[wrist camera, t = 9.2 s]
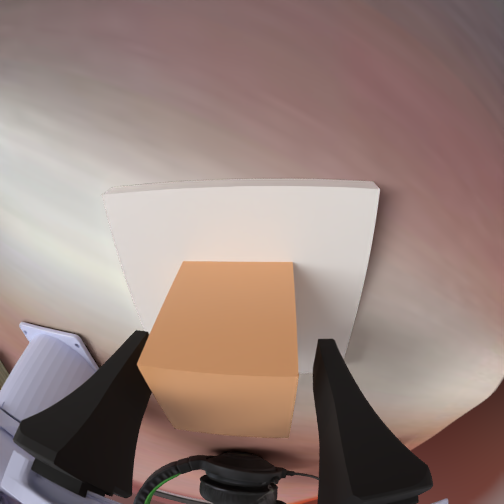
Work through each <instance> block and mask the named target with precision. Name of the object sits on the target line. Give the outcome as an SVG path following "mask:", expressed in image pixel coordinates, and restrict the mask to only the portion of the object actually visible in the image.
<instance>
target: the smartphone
mask: <svg viewBox="0 0 504 504" xmlns="http://www.w3.org/2000/svg"><path fill="white" fill-rule="evenodd" d="M153 495H156V496H159V497H163V498H166V499H170V500H174V501H178V502H182V503H186V504H213V503H211V502H209V501H206V500H200V499H195V498H191V497H186V496H182V495H177V494H173V493H169V492H166V491H162V490H158V489H157V490H156V491H155V493H154V494H153Z"/></svg>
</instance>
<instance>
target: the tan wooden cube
mask: <svg viewBox="0 0 504 504" xmlns="http://www.w3.org/2000/svg"><path fill="white" fill-rule="evenodd" d="M137 366H138V368H139V370H140V372H141V373H142V375H143V377H144V379H145V381H146V383H147V384H148V386H149V388H150V390H151V391H152V393H153V395H154V396H155V398H156V400H157V402H158V403H159V405H160V407H161V408H162V410H163V411H164V413H165V415H166V416H167V418H168V419H169V421H170V422H171V424H172V426H173V427H174V429H180V430H186V431H193V432H201V433H209V434H218V435H229V436H242V437H262V438H289V434H290V428H291V423H292V417H293V411H294V404H295V398H296V391H297V385H298V378H299V371H298V344H297V323H296V304H295V288H294V273H293V262H217V261H183V262H182V265H181V267H180V269H179V271H178V273H177V275H176V277H175V279H174V281H173V283H172V286H171V288H170V290H169V292H168V294H167V296H166V298H165V301H164V303H163V305H162V307H161V309H160V312H159V314H158V316H157V318H156V321H155V323H154V325H153V327H152V330H151V332H150V334H149V337H148V339H147V341H146V344H145V346H144V348H143V351H142V353H141V355H140V358H139V360H138V363H137Z"/></svg>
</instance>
